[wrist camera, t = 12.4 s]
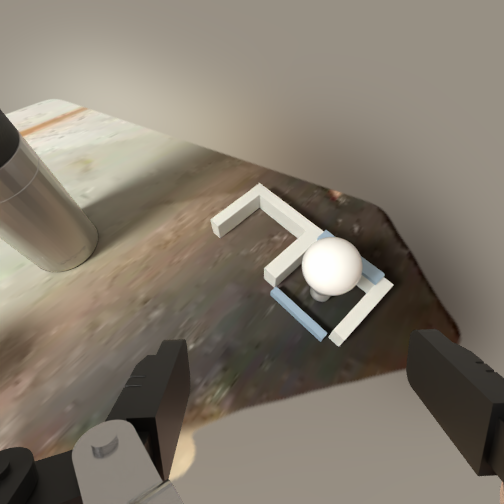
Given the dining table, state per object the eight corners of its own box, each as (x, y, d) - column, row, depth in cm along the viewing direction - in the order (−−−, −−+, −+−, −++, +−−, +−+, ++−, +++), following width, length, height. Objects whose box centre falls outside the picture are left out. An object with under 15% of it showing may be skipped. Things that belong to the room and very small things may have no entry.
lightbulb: (340, 271, 42) (363, 224, 32) (348, 316, 39) (376, 279, 29) (293, 272, 42) (303, 226, 32) (297, 318, 39) (309, 281, 29)
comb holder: (207, 236, 45) (203, 221, 42) (259, 196, 49) (259, 180, 46) (332, 353, 37) (339, 346, 33) (385, 294, 40) (396, 282, 37)
